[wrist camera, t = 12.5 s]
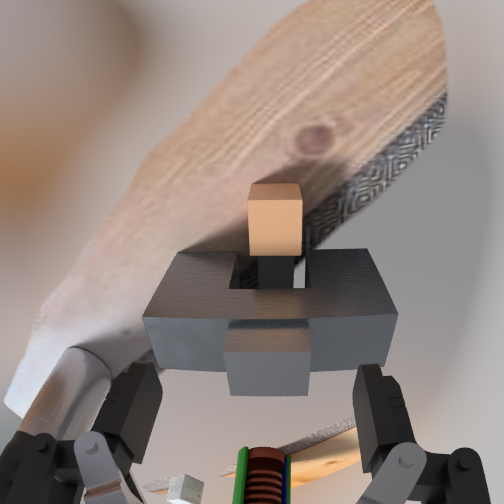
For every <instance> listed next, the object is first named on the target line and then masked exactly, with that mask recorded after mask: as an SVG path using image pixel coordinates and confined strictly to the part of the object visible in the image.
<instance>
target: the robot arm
mask: <svg viewBox="0 0 504 504" xmlns="http://www.w3.org/2000/svg"><path fill="white" fill-rule="evenodd" d="M111 381H112V375H111V373H110V371H109V369H108V368H107V366H106V365H105V364H104V363H103V362H102V361H101V360H100V359H99V358H97V357H96V356H95V355H93V354H91V353H90V352H88V351H85V350H83V349H80V348H68V349H67V350H65V352H64V353H63V355H62V356H61V358H60V359H59V361H58V362H57V364H56V365H55V367H54V368H53V370H52V372H51V373H50V375H49V376H48V378H47V380H46V381H45V383H44V384H43V386H42V388H41V389H40V391H39V393H38V394H37V396H36V398H35V399H34V401H33V403H32V405H31V406H30V408H29V410H28V411H27V413H26V415H25V417H24V419H23V420H22V422H21V424H20V426H19V428H18V429H17V431H16V433H15V435H14V437H13V438H12V440H11V441H10V442H9V443H8V444H7V445H6V447H5V449H4V450H3V452H2V454H1V456H0V504H80V501H81V497H82V494H83V490H84V487H85V488H86V492H87V493H86V494H85V495H84V501H85V504H147V503H146V501H145V499H144V497H143V495H142V493H141V491H140V489H139V487H138V485H137V483H136V481H135V479H134V476H133V474H132V472H131V470H130V468H131V464H132V462H133V463H138V464H141V463H142V460H143V457H144V454H145V451H146V448H147V444H148V441H149V438H150V435H151V432H152V428H153V425H154V422H155V419H156V416H157V413H158V410H159V407H160V403H161V400H162V394H163V391H162V386H161V383H160V380H159V378H158V375H157V373H156V370H155V367H154V365H153V363H150V362H140V361H134V362H133V363H132V364H131V366H130V368H129V371H128V373H125V372H122V373H121V374H120V375H119V376H118V377H117V378H116V379H115V380H114V381H113V383H112V385H111V387H110V389H109V393H108V394H107V396H106V398H105V399H106V400H104V402H103V405H102V407H101V409H100V411H99V413H98V416H97V418H96V420H95V422H94V425H93V427H92V429H91V430H90V431H89V429H90V427H91V425H92V422H93V420H94V418H95V416H96V414H97V411H98V409H99V407H100V405H101V403H102V401H103V399H104V397H105V394H106V392H107V390H108V388H109V386H110V384H111ZM353 407H354V413H355V419H356V426H357V432H358V439H359V446H360V453H361V460H362V468H363V473H369V472H371V474H372V482H371V483H370V485H369V486H368V487H367V489H366V490H365V492H364V493H363V495H362V496H361V497H360V499H359V500H358V502H357V503H356V504H404V503H405V502H406V500H411V501H421V504H491V502H490V497H489V492H488V487H487V483H486V479H485V474H484V470H483V466H482V462H481V459H480V456H479V455H478V453H477V452H476V451H474V450H473V449H471V448H459V449H457V450H455V451H454V452H453V453H452V454H437V453H430V452H427V451H425V450H423V449H422V448H421V447H420V446H419V445H418V444H417V442H416V441H415V438H414V434H413V430H412V427H411V423H410V419H409V416H408V412H407V409H406V407H405V402H404V398H403V395H402V392H401V388H400V385H399V384H398V383H397V381H396V380H395V379H394V378H393V377H392V376H383V375H382V372H381V368H380V365H379V364H378V363H376V364H364V365H359V367H358V371H357V375H356V379H355V384H354V388H353ZM88 431H89V432H88Z"/></svg>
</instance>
